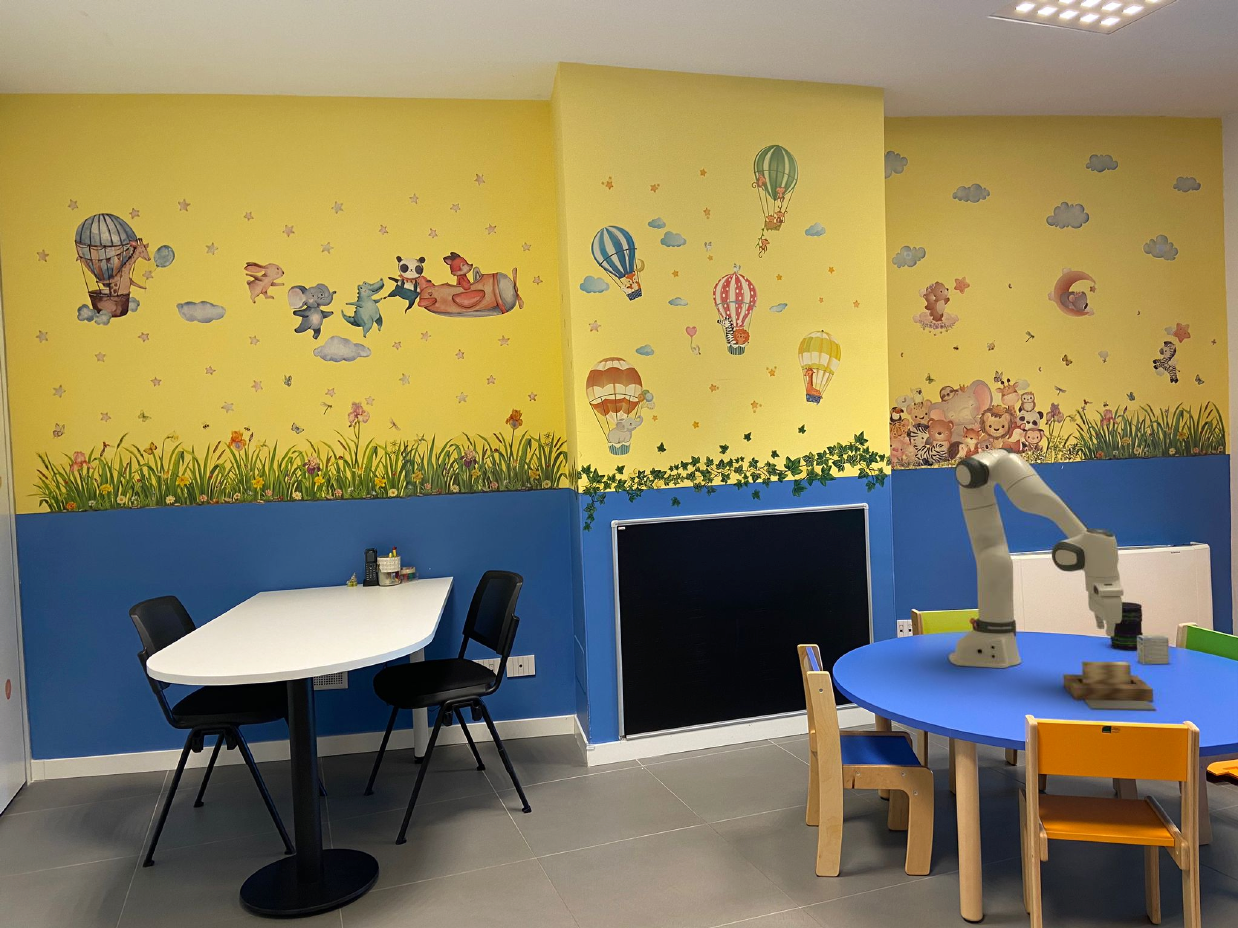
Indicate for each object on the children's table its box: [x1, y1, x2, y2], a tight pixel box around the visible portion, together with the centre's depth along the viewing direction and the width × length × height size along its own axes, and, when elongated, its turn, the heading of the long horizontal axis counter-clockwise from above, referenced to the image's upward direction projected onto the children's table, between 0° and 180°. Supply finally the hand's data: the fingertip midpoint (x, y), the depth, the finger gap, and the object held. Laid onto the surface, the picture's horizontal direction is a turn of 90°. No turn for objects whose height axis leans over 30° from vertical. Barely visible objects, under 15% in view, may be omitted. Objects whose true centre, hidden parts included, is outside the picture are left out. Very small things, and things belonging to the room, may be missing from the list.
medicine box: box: [1136, 634, 1170, 665], centre depth 287 cm, size 8×4×9 cm, turn 84°
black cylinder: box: [1109, 601, 1144, 652], centre depth 306 cm, size 10×10×15 cm
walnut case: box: [1062, 673, 1154, 702], centre depth 258 cm, size 20×14×4 cm
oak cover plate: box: [1081, 661, 1132, 684], centre depth 258 cm, size 12×3×9 cm, turn 76°
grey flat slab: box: [1084, 700, 1157, 712], centre depth 247 cm, size 16×7×1 cm, turn 76°
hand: (1105, 632), depth 258 cm, fingers open, 8 cm apart
